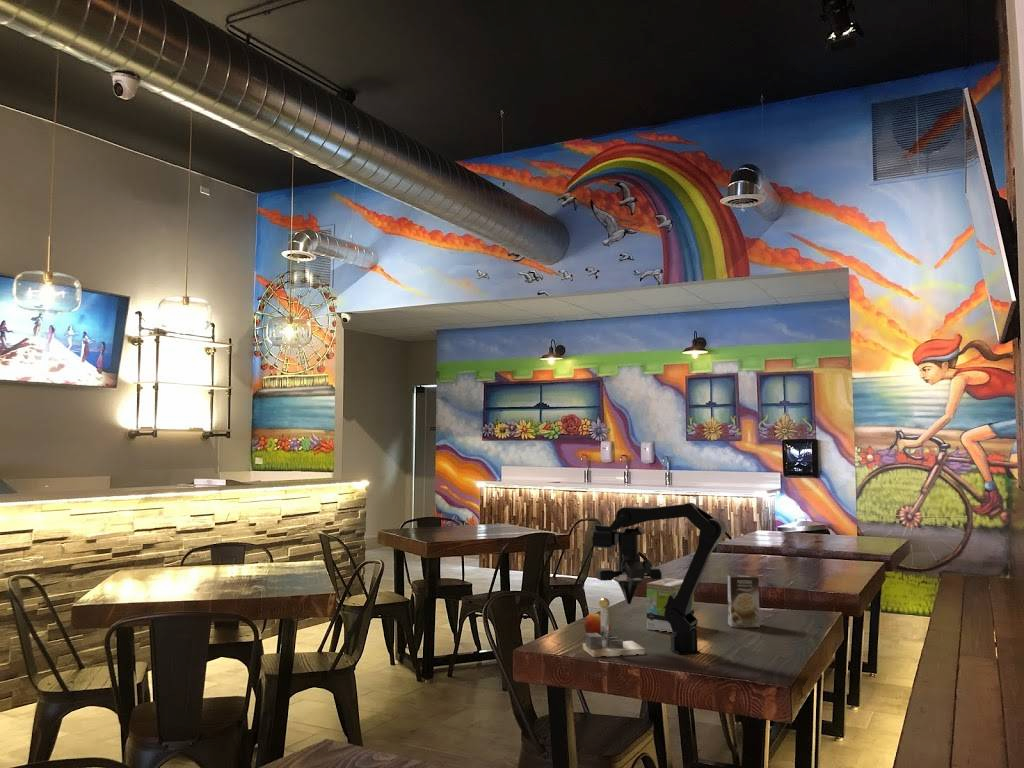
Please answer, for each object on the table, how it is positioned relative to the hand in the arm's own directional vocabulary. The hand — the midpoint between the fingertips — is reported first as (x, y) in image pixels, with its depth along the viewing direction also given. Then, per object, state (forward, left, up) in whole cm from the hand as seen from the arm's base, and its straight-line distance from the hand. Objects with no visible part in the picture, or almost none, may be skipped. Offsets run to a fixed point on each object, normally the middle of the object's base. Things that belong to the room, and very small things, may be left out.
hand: (628, 603), depth 239 cm
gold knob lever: (+11, +5, -10) cm, 16 cm away
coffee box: (-46, -18, -12) cm, 51 cm away
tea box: (-22, -21, -12) cm, 33 cm away
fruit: (+5, -14, -12) cm, 19 cm away
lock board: (+7, +5, -12) cm, 15 cm away
